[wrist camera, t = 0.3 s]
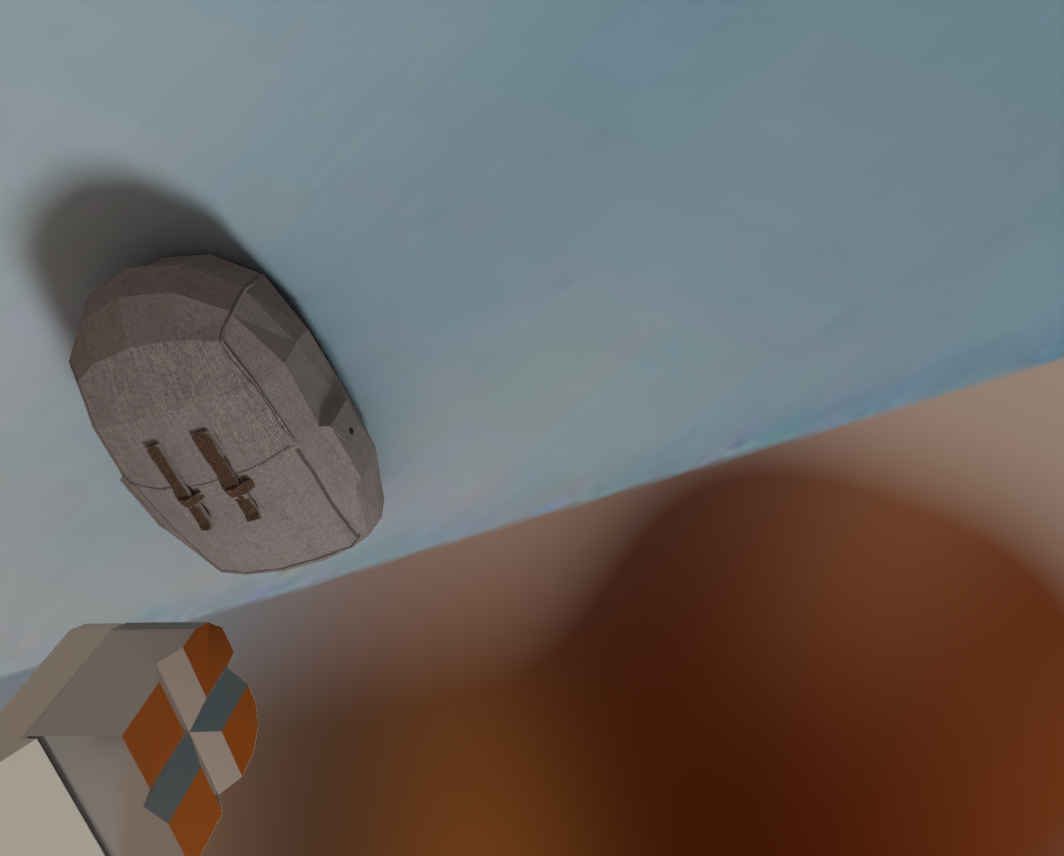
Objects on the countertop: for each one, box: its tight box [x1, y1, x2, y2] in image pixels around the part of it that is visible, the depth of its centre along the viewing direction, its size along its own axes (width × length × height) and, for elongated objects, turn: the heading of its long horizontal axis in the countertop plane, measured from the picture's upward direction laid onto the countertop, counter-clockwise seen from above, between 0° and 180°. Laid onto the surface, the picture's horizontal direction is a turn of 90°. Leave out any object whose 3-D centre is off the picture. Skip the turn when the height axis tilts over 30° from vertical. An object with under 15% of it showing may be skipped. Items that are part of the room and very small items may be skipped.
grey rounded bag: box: [69, 254, 384, 575], centre depth 57 cm, size 15×8×20 cm
